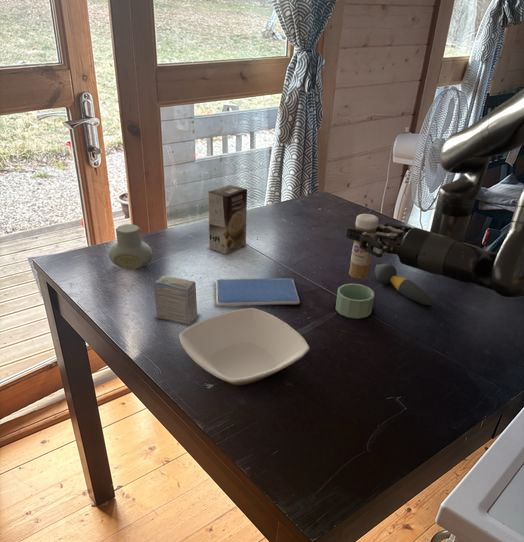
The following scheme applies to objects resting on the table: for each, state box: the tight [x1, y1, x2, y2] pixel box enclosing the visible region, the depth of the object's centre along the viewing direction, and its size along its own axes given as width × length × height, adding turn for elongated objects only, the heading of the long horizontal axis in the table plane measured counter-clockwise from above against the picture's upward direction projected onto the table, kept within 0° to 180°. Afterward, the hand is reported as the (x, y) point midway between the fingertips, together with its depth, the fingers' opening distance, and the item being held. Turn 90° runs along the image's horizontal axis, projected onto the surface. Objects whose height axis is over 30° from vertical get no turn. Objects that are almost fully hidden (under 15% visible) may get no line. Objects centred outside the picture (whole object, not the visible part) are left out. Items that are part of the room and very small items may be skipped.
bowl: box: [178, 307, 310, 386], centre depth 99 cm, size 22×22×5 cm
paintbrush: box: [374, 263, 433, 306], centre depth 126 cm, size 20×5×5 cm, turn 38°
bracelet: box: [335, 283, 375, 320], centre depth 118 cm, size 8×8×4 cm
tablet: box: [215, 277, 301, 307], centre depth 123 cm, size 19×13×1 cm, turn 95°
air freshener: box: [108, 223, 153, 271], centre depth 131 cm, size 11×8×10 cm
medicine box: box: [153, 275, 198, 325], centre depth 111 cm, size 8×4×9 cm, turn 71°
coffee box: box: [208, 184, 248, 255], centre depth 141 cm, size 9×6×16 cm
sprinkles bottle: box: [348, 213, 379, 280], centre depth 111 cm, size 5×5×14 cm
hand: (354, 229), depth 110 cm, fingers closed on sprinkles bottle, 4 cm apart
